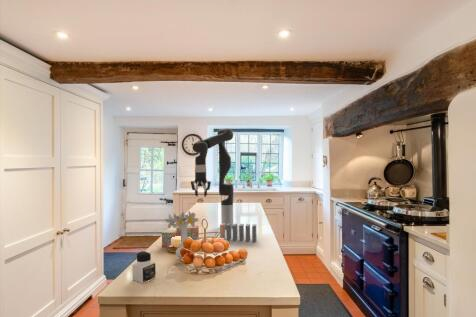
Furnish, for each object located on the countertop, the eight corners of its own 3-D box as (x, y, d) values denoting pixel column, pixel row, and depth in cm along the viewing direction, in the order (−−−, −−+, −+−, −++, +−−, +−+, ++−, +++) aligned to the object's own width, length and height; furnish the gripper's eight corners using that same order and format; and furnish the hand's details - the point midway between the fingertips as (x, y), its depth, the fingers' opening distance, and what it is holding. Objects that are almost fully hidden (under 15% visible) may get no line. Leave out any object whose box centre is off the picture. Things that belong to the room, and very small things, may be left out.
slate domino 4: (252, 241, 178) (252, 226, 177) (253, 239, 182) (253, 224, 182) (255, 242, 177) (255, 226, 177) (256, 239, 182) (256, 224, 182)
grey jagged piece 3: (232, 241, 180) (232, 225, 180) (234, 238, 185) (234, 223, 185) (235, 241, 180) (235, 225, 180) (237, 238, 185) (237, 223, 184)
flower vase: (173, 253, 159) (172, 209, 158) (203, 255, 154) (203, 210, 154) (161, 261, 146) (160, 213, 146) (194, 264, 141) (193, 215, 141)
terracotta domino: (220, 240, 182) (219, 225, 182) (222, 238, 187) (221, 223, 187) (223, 240, 181) (222, 225, 181) (225, 238, 186) (224, 223, 186)
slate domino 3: (239, 241, 179) (239, 225, 179) (240, 239, 184) (240, 223, 184) (242, 241, 179) (242, 225, 179) (243, 239, 184) (243, 223, 184)
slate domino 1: (226, 240, 181) (226, 225, 181) (228, 238, 186) (228, 223, 186) (229, 240, 180) (229, 225, 180) (231, 238, 185) (231, 223, 185)
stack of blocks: (161, 247, 169) (161, 227, 169) (165, 244, 175) (164, 224, 175) (196, 248, 167) (196, 227, 167) (199, 244, 174) (198, 225, 174)
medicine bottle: (143, 283, 121) (142, 256, 121) (132, 280, 125) (131, 253, 125) (156, 277, 127) (155, 251, 127) (145, 274, 131) (144, 248, 131)
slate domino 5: (245, 241, 178) (245, 225, 178) (247, 239, 183) (246, 224, 183) (248, 241, 178) (248, 226, 178) (250, 239, 183) (249, 224, 183)
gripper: (212, 171, 193) (212, 195, 193) (192, 171, 196) (192, 195, 196) (209, 171, 186) (209, 197, 186) (188, 171, 188) (189, 197, 189)
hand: (201, 196), depth 191 cm, fingers open, 5 cm apart
